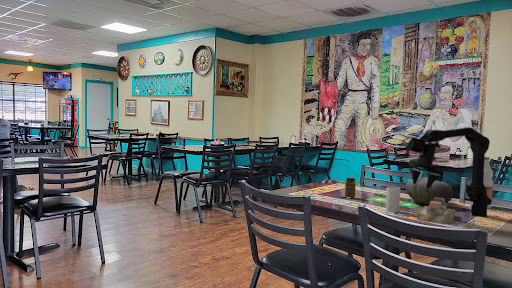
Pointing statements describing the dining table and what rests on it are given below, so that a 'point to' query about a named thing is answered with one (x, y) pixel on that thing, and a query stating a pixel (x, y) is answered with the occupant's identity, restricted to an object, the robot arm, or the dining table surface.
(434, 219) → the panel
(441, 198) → the dark grey square block
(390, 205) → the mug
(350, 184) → the condiment
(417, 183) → the gourd
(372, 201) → the dining table surface
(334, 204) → the dining table surface
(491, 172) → the fruit juice
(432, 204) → the salmon brown square block
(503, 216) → the dining table surface
